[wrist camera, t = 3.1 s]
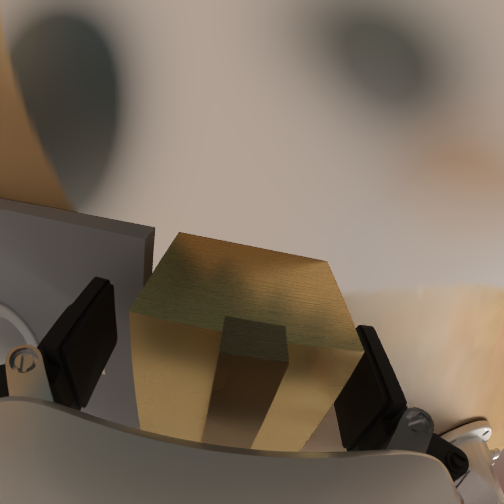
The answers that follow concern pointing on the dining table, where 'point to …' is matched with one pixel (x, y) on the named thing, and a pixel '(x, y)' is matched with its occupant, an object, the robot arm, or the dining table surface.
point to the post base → (72, 286)
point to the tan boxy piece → (239, 345)
